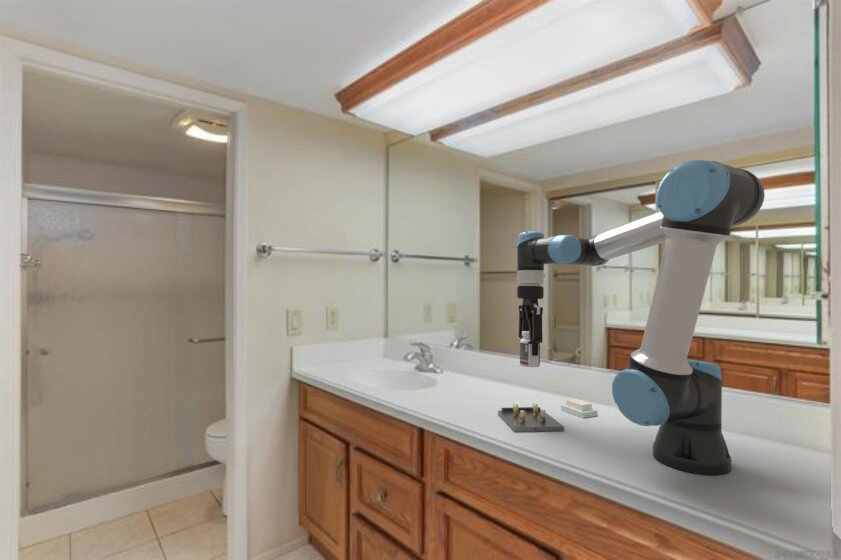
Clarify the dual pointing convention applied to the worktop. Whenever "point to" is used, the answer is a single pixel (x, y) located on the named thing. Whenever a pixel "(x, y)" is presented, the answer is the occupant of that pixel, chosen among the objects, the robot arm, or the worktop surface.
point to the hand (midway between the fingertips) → (529, 364)
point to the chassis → (529, 419)
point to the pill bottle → (525, 349)
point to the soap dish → (579, 413)
